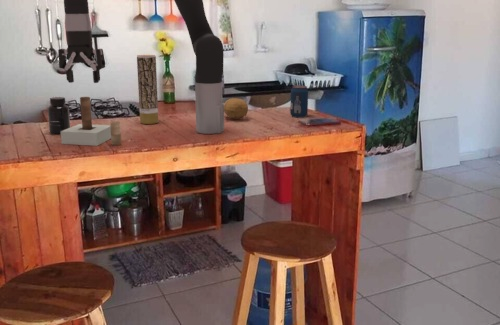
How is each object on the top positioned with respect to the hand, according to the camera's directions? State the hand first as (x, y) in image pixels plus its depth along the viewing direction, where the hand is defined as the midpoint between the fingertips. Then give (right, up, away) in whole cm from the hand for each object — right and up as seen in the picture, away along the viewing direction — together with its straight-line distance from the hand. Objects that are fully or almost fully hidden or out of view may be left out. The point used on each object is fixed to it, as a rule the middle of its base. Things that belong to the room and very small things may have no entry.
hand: (83, 82), depth 165 cm
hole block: (0, -18, +5) cm, 19 cm away
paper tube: (+14, -10, +33) cm, 38 cm away
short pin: (+10, -19, 0) cm, 22 cm away
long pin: (0, -18, +5) cm, 19 cm away
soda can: (+72, -7, +47) cm, 86 cm away
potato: (+47, -8, +42) cm, 63 cm away
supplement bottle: (-13, -15, +16) cm, 26 cm away
